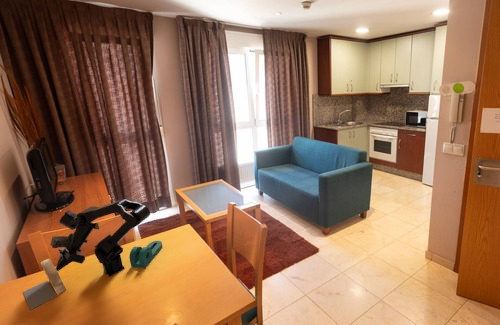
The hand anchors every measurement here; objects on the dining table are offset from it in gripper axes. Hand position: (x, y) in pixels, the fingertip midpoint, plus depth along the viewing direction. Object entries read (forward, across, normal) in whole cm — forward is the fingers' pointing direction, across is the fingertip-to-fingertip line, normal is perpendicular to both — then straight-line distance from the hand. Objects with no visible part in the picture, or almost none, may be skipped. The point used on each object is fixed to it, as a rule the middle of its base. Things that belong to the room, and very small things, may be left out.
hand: (56, 270), depth 104 cm
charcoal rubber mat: (+10, 0, 0) cm, 10 cm away
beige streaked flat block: (+5, 0, +4) cm, 7 cm away
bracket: (-18, +12, +28) cm, 36 cm away
